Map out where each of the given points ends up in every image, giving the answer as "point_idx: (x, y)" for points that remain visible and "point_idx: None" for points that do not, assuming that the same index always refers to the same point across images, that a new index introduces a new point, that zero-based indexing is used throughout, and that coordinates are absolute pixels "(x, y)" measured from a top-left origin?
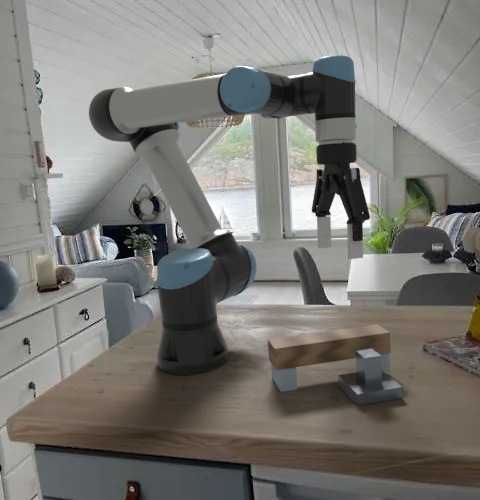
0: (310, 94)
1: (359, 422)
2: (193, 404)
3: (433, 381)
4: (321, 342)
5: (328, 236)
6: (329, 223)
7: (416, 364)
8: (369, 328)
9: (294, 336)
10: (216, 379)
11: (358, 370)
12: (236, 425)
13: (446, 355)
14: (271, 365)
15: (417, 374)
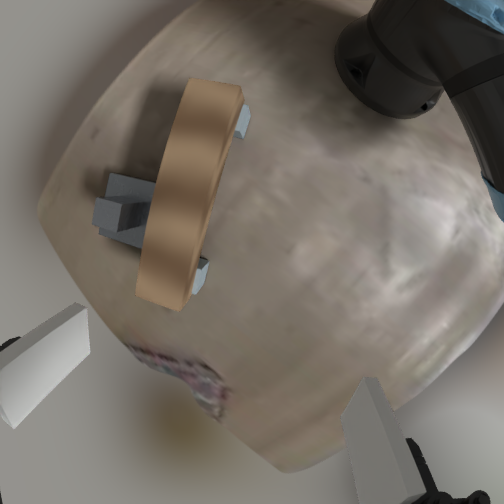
0: None
1: (97, 155)
2: (247, 16)
3: (125, 297)
4: (161, 162)
5: (354, 444)
6: (361, 497)
7: (172, 323)
8: (168, 284)
9: (220, 135)
10: (303, 57)
11: (130, 201)
12: (170, 40)
13: (177, 369)
14: (248, 109)
15: None
